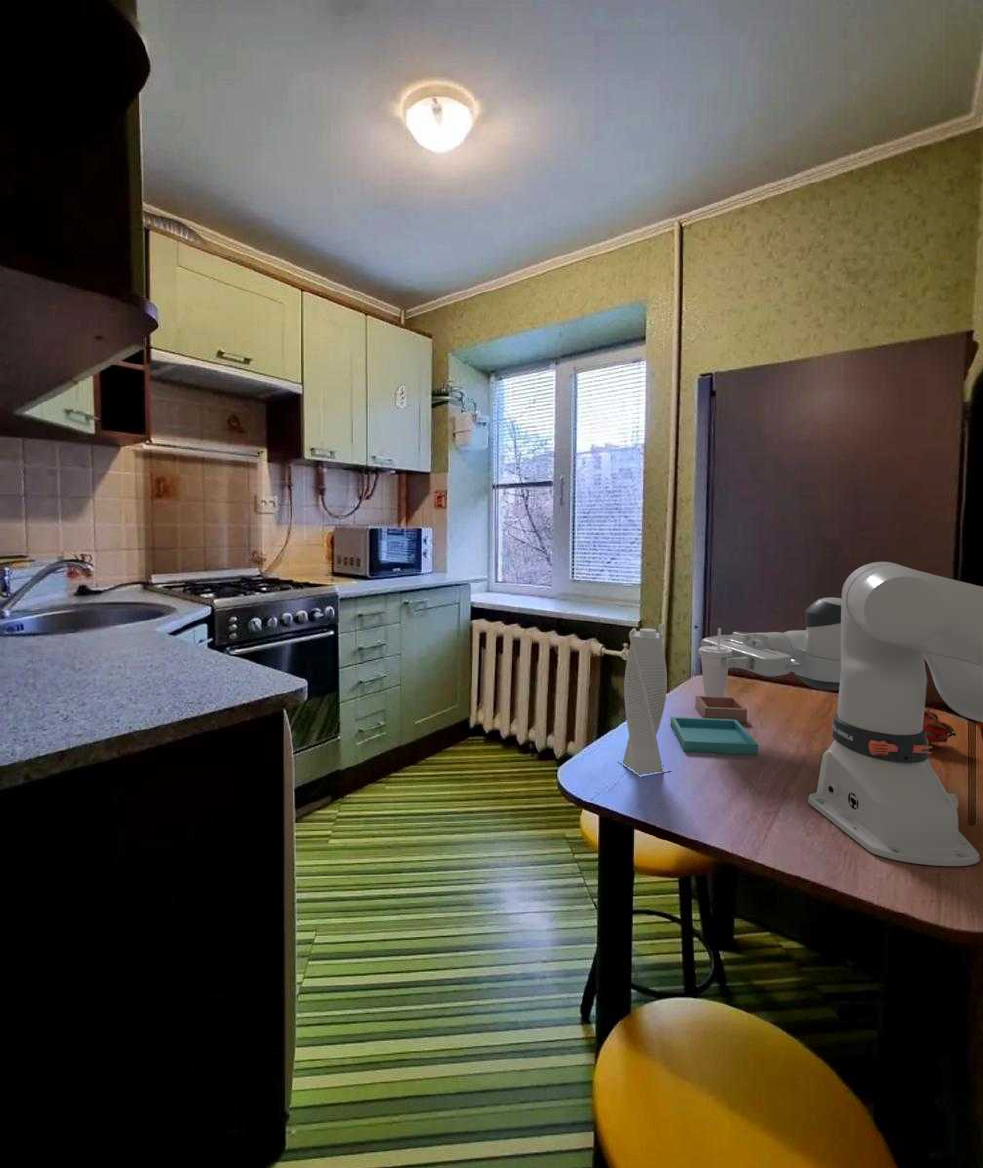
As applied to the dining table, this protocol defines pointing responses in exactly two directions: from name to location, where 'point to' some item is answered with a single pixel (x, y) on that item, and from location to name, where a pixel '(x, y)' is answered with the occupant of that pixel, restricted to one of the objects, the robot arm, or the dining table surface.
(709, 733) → the tray
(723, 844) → the dining table surface
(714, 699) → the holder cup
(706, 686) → the smoothie
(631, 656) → the skyscraper
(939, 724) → the dragon fruit
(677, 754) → the dining table surface
